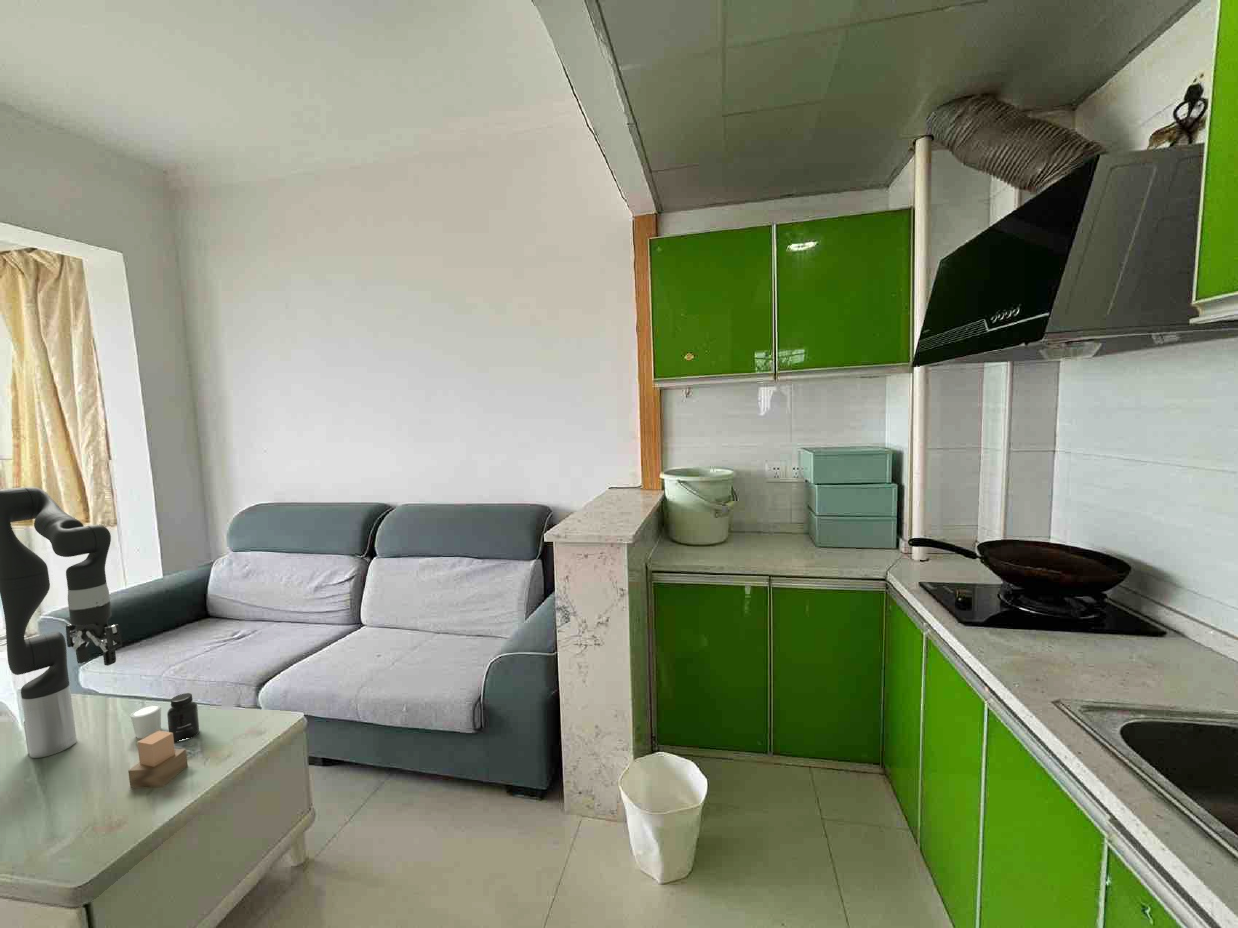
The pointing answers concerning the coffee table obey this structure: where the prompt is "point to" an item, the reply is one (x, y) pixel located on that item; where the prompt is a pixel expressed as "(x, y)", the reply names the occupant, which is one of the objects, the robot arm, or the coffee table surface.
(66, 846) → the coffee table surface
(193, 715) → the supplement bottle
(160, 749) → the tan block
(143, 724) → the white cylinder
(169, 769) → the walnut box
